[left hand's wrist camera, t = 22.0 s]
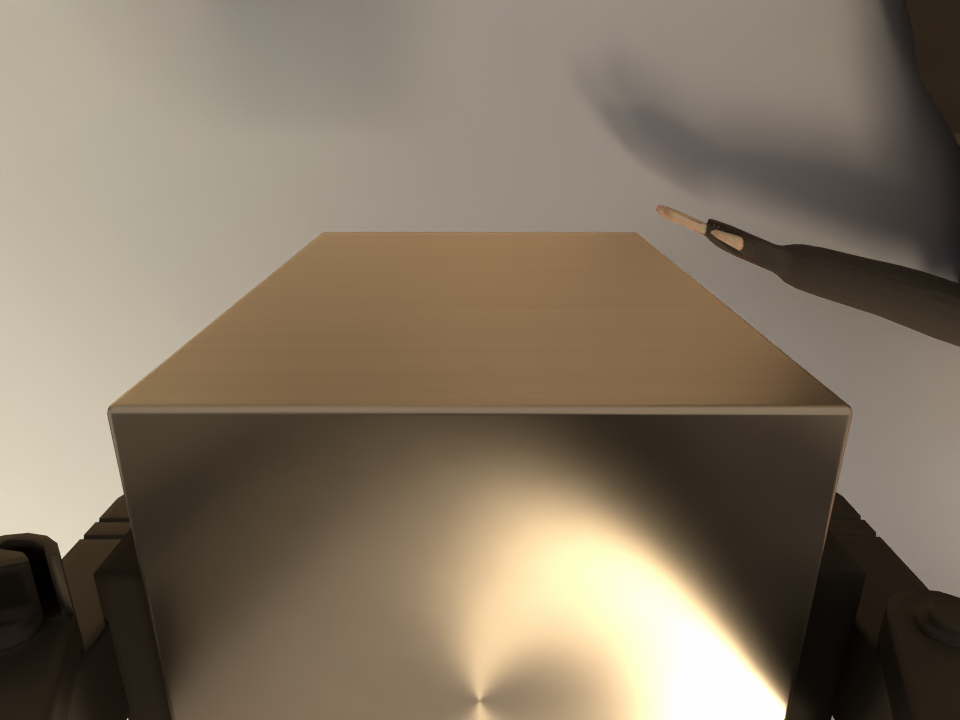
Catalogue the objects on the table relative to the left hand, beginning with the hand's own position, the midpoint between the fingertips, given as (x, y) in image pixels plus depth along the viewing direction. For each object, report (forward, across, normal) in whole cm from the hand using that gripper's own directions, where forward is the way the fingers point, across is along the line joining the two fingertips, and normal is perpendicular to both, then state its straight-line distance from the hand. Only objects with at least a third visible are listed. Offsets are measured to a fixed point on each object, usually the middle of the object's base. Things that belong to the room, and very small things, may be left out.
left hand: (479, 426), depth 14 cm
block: (+3, 0, 0) cm, 3 cm away
